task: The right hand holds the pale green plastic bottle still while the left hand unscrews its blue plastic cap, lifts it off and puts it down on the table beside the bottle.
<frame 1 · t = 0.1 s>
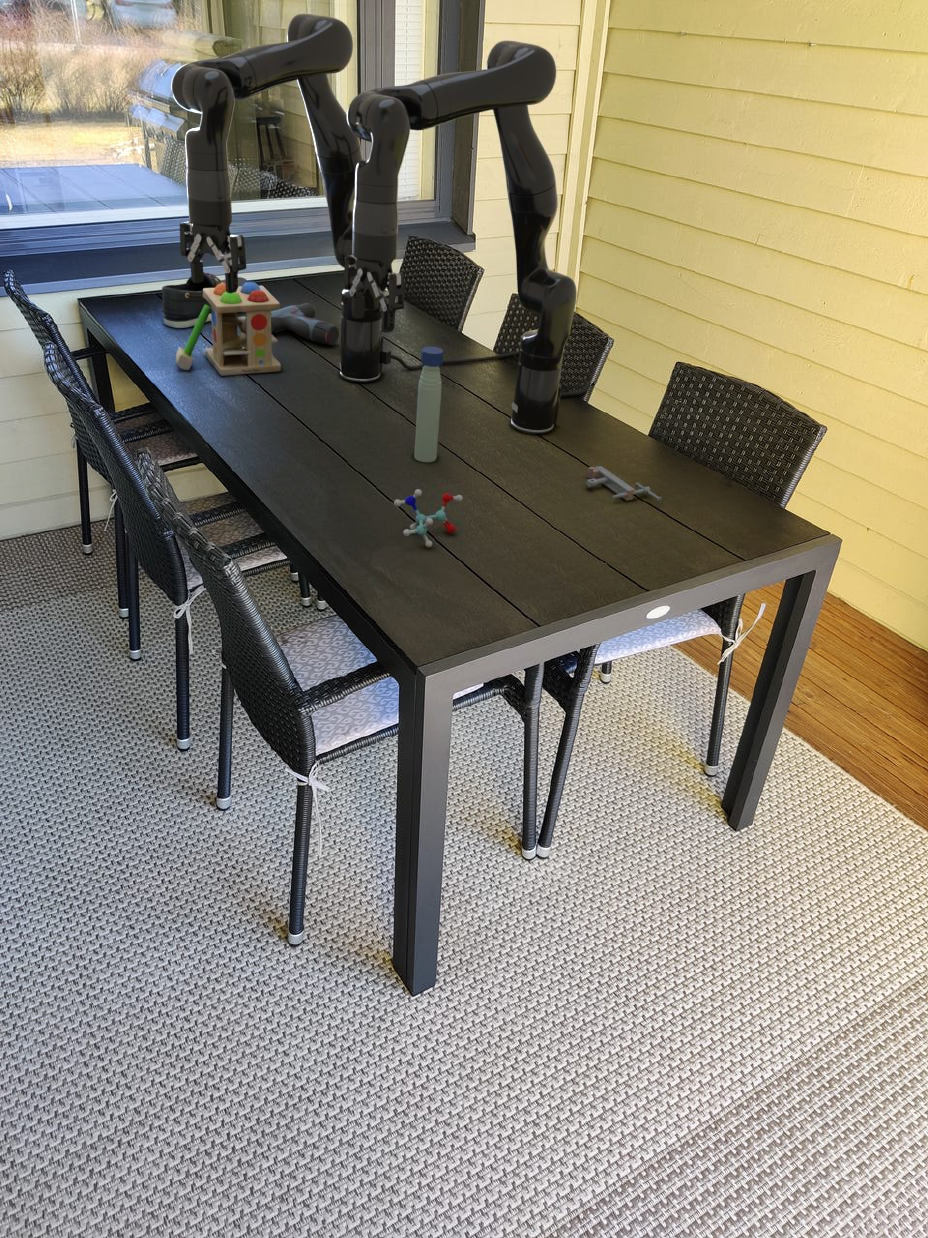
left hand: (214, 287, 183), 29 cm above the table, tool pointing down, fingers open, 8 cm apart
right hand: (372, 324, 173), 29 cm above the table, tool pointing down, fingers open, 8 cm apart
cap: (432, 351, 186), point 22 cm above the table, screwed on, not yet turned
power drill: (311, 334, 253), on the table
boat shoe: (209, 312, 261), on the table
bottle: (425, 457, 198), on the table
molecular model: (423, 534, 172), on the table
clamp: (617, 492, 192), on the table
pounding bench toy: (225, 365, 230), on the table
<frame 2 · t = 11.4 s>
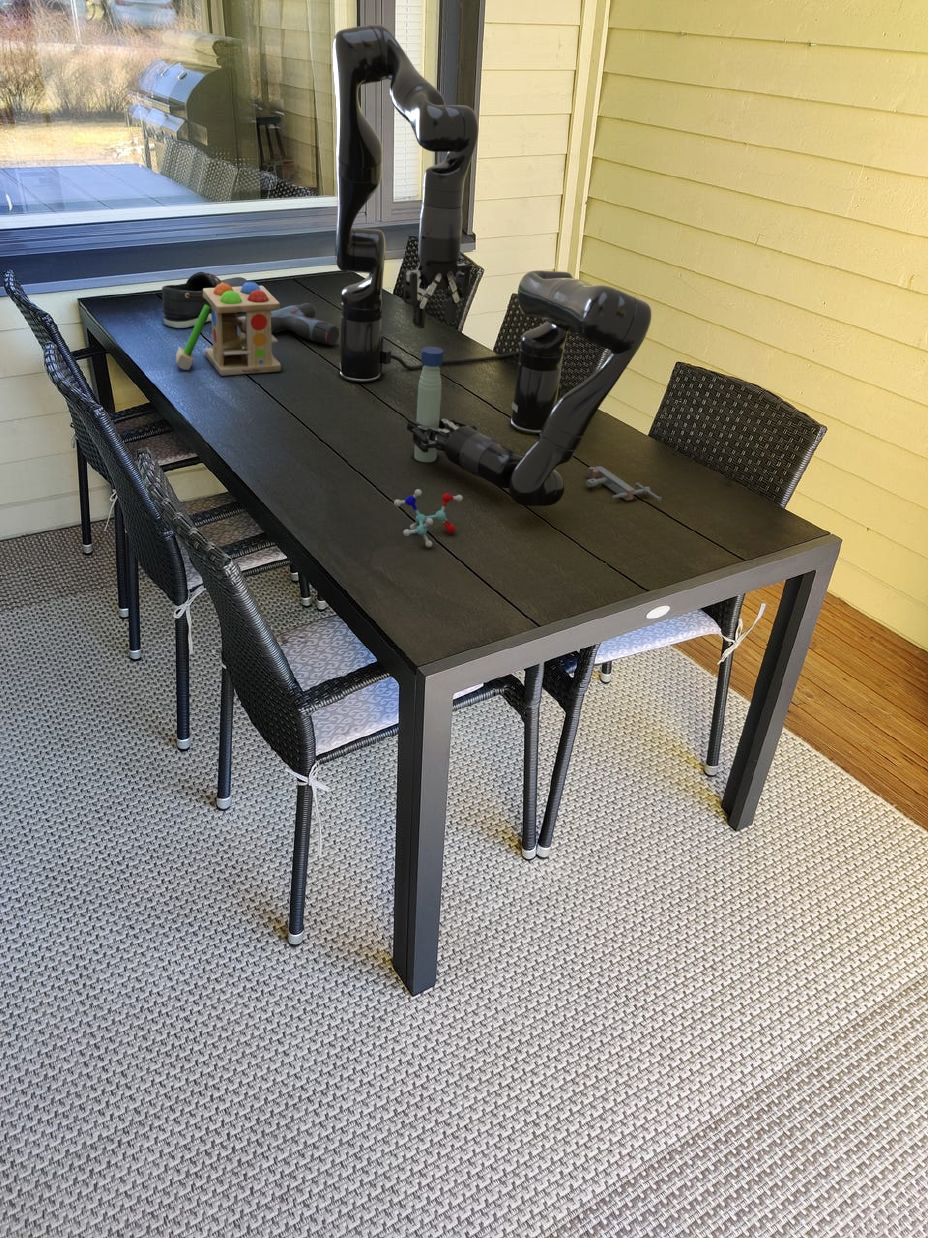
left hand: (434, 324, 183), 27 cm above the table, tool pointing down, fingers open, 6 cm apart
right hand: (418, 421, 196), 7 cm above the table, tool horizontal, fingers closed on bottle, 4 cm apart
bottle: (425, 457, 198), on the table, touching right hand
everything else where it was.
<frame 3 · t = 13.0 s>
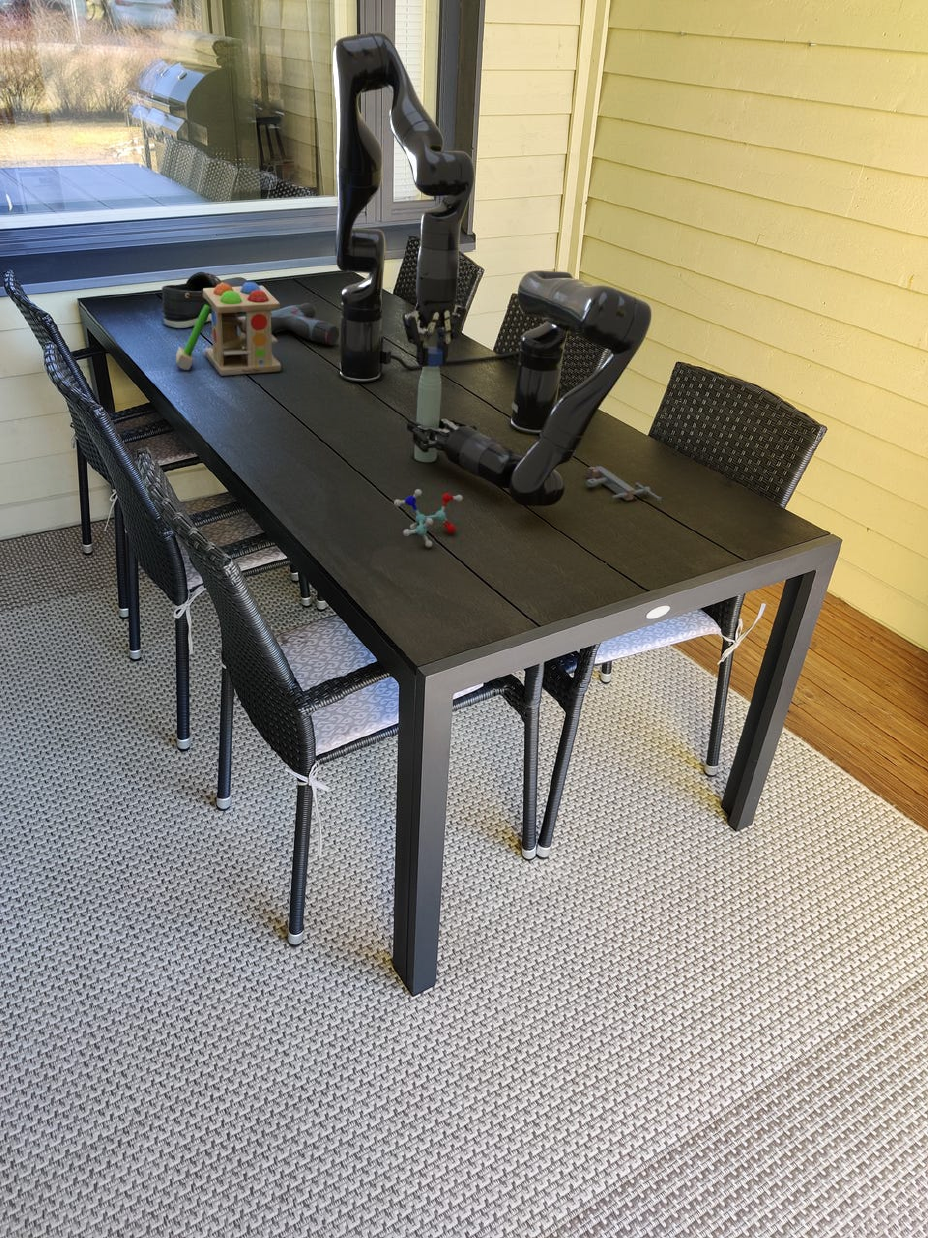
left hand: (431, 363, 187), 20 cm above the table, tool pointing down, fingers closed on cap, 4 cm apart
right hand: (418, 421, 196), 7 cm above the table, tool horizontal, fingers closed on bottle, 4 cm apart
cap: (432, 351, 186), point 22 cm above the table, screwed on, not yet turned, touching left hand
bottle: (425, 457, 198), on the table, touching right hand
everything else where it was.
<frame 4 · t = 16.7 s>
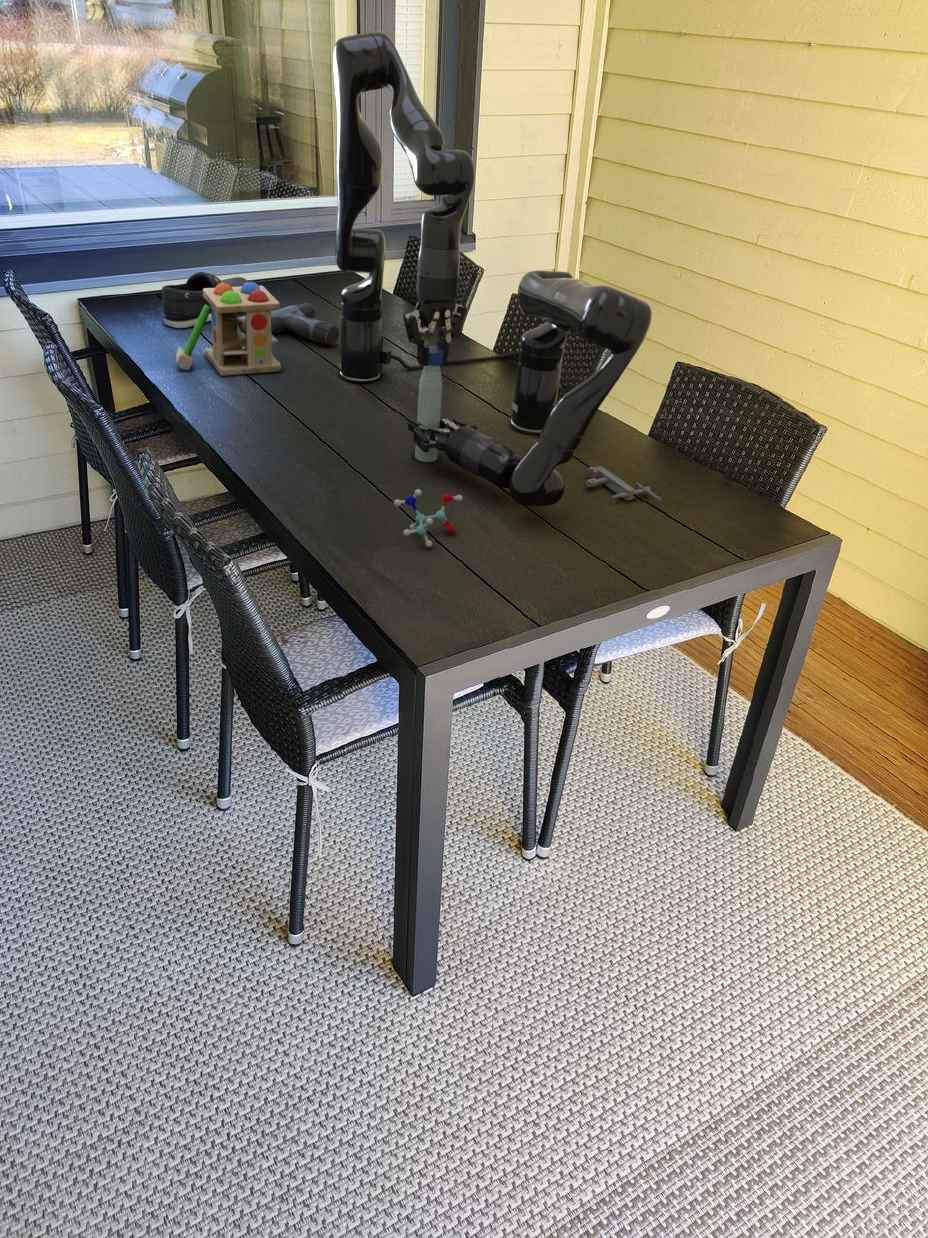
left hand: (432, 362, 187), 20 cm above the table, tool pointing down, fingers closed on cap, 4 cm apart
right hand: (419, 421, 196), 7 cm above the table, tool horizontal, fingers closed on bottle, 4 cm apart
cap: (433, 350, 186), point 22 cm above the table, turned 93° so far, risen 0.1 cm, still on its thread, touching left hand
bottle: (426, 457, 198), on the table, touching right hand
everything else where it was.
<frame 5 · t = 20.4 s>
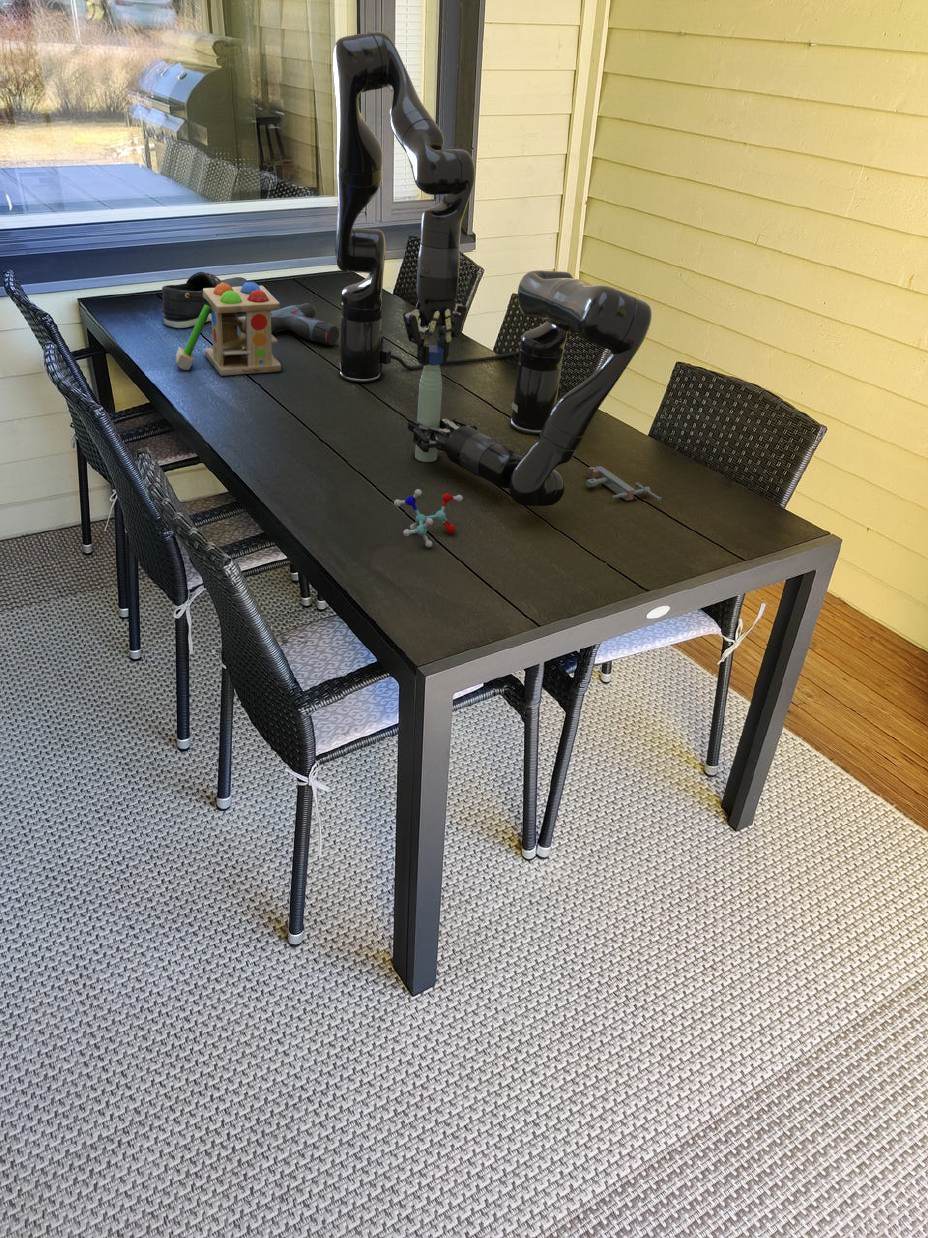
left hand: (432, 361, 187), 20 cm above the table, tool pointing down, fingers closed on cap, 4 cm apart
right hand: (419, 421, 196), 7 cm above the table, tool horizontal, fingers closed on bottle, 4 cm apart
cap: (433, 350, 185), point 22 cm above the table, turned 186° so far, risen 0.2 cm, still on its thread, touching left hand
bottle: (426, 457, 198), on the table, touching right hand
everything else where it was.
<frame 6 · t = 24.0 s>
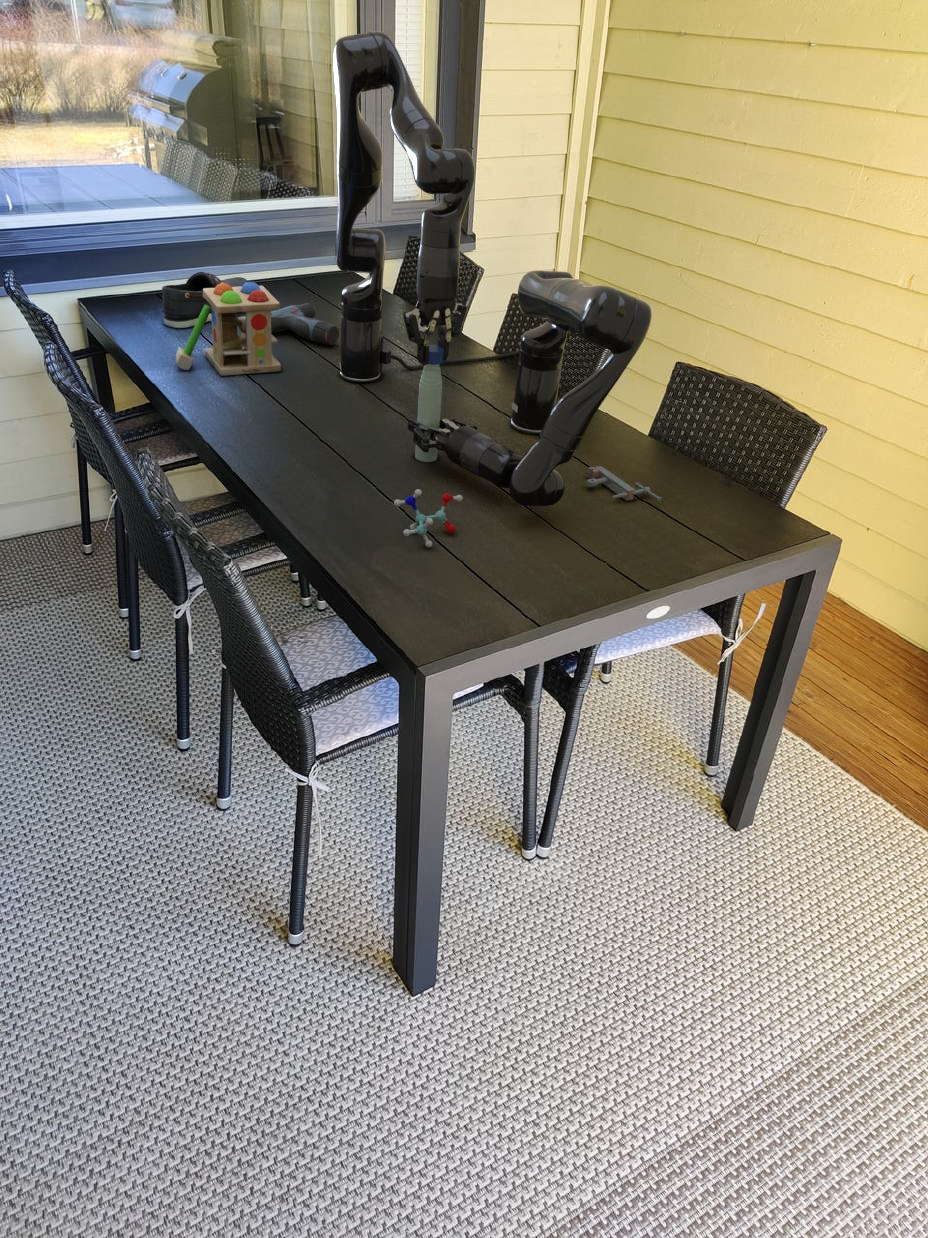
left hand: (432, 361, 187), 20 cm above the table, tool pointing down, fingers closed on cap, 4 cm apart
right hand: (419, 421, 196), 7 cm above the table, tool horizontal, fingers closed on bottle, 4 cm apart
cap: (433, 349, 185), point 22 cm above the table, turned 279° so far, risen 0.3 cm, still on its thread, touching left hand
bottle: (426, 457, 198), on the table, touching right hand
everything else where it was.
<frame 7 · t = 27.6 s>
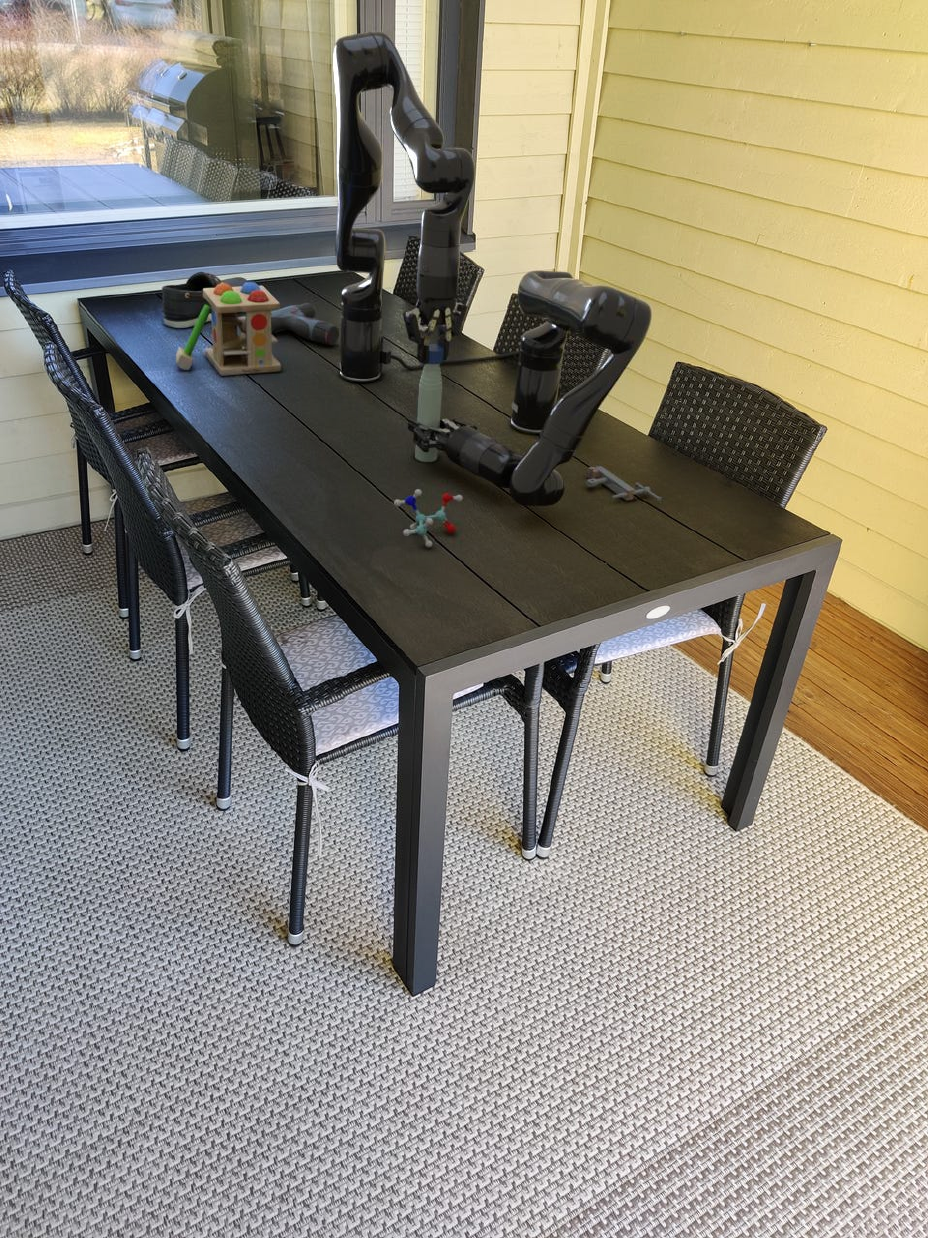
left hand: (432, 360, 187), 20 cm above the table, tool pointing down, fingers closed on cap, 4 cm apart
right hand: (419, 421, 196), 7 cm above the table, tool horizontal, fingers closed on bottle, 4 cm apart
cap: (433, 349, 185), point 22 cm above the table, turned 371° so far, risen 0.4 cm, still on its thread, touching left hand
bottle: (426, 457, 198), on the table, touching right hand
everything else where it was.
when the left hand's fingers open (1 cm above the table, at t = 35.0 s): cap drops 1 cm, point 2 cm above the table.
when the right hand's fingers open (7 cm above the table, at t = 36.2 s): bottle stays where it is, on the table.
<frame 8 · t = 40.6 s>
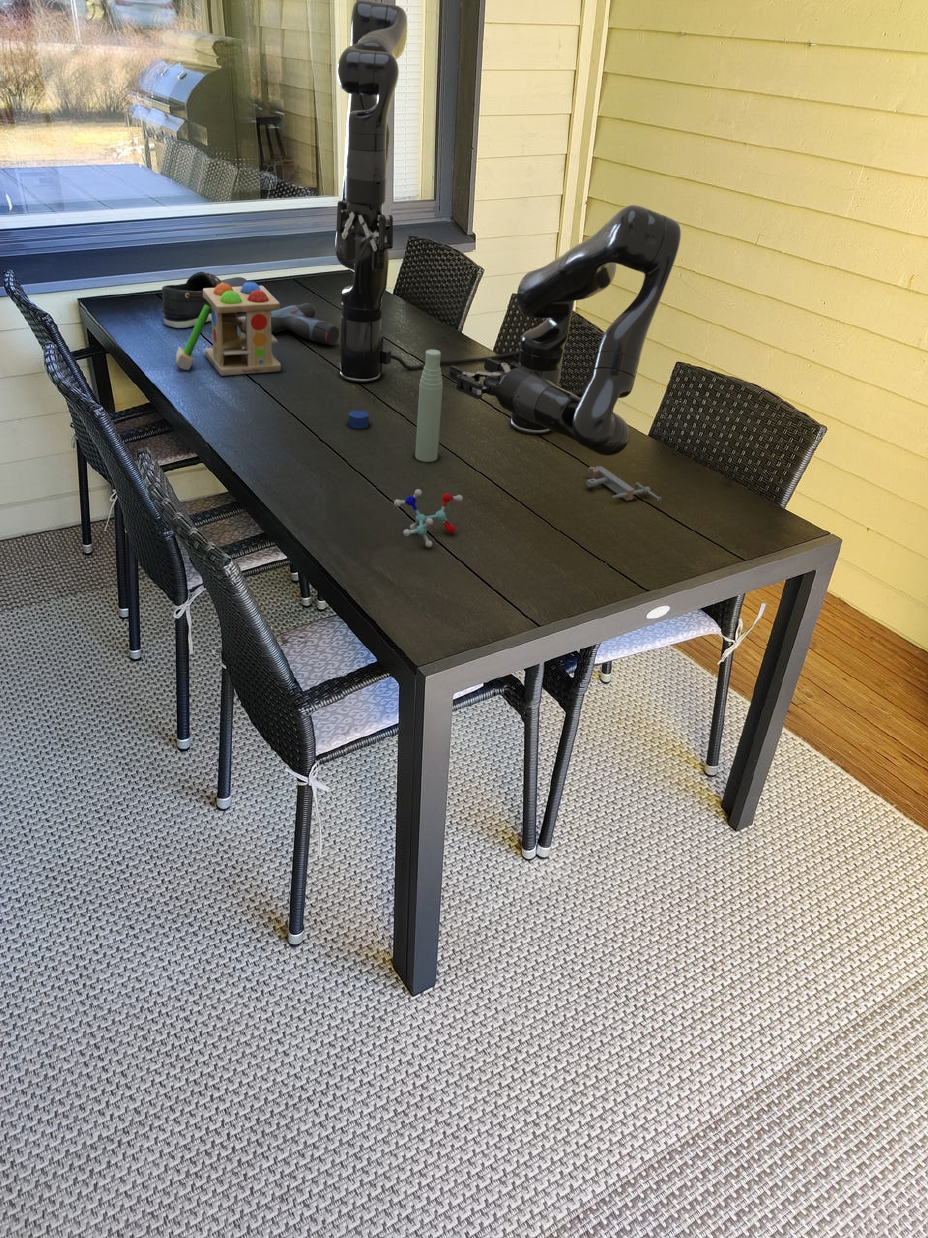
left hand: (363, 264, 190), 33 cm above the table, tool pointing down, fingers open, 8 cm apart
right hand: (468, 367, 179), 22 cm above the table, tool horizontal, fingers open, 8 cm apart
cap: (358, 415, 207), point 2 cm above the table, off its thread
bottle: (426, 457, 198), on the table
everything else where it was.
at the end: cap came off its thread; cap point 2.2 cm above the table; the left hand is holding nothing; the right hand is holding nothing; bottle tilted 0°; bottle moved 0.3 cm from its start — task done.
